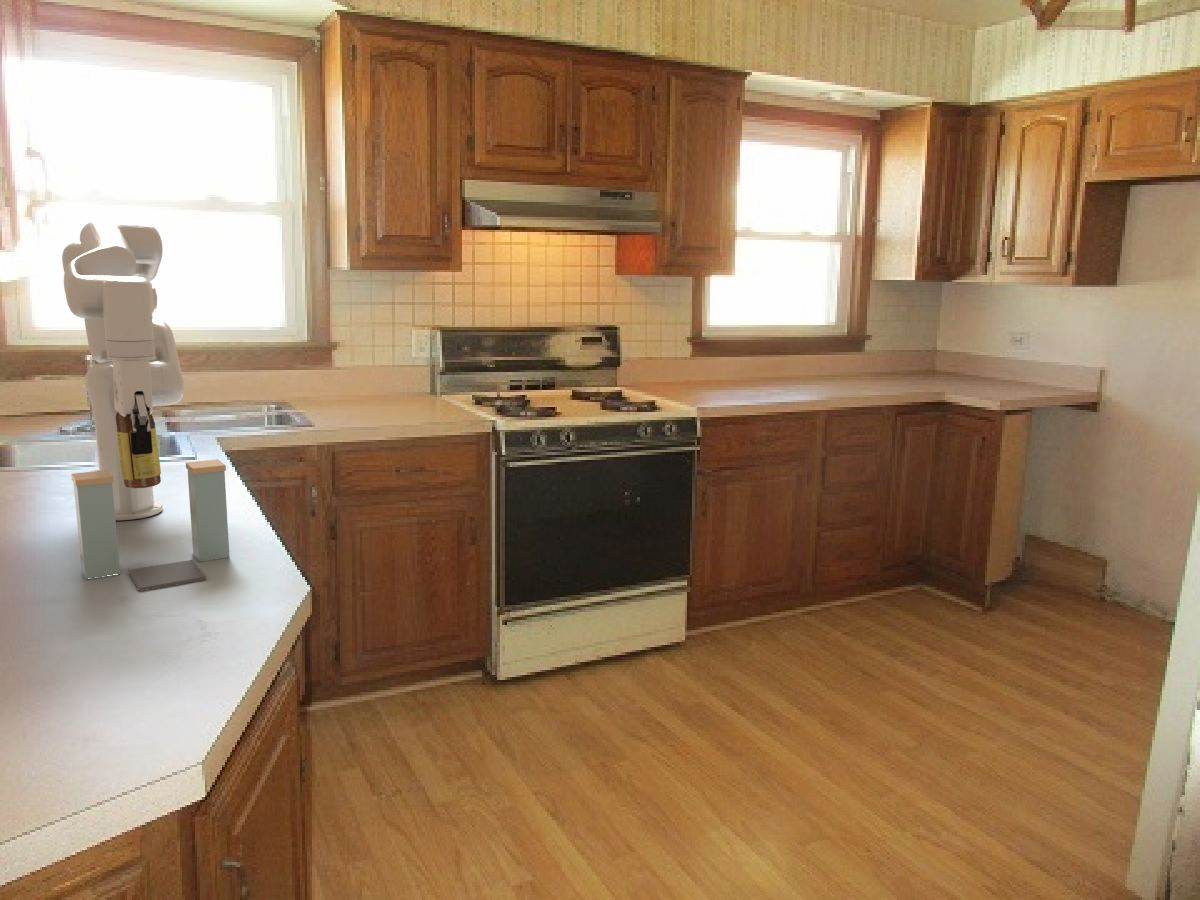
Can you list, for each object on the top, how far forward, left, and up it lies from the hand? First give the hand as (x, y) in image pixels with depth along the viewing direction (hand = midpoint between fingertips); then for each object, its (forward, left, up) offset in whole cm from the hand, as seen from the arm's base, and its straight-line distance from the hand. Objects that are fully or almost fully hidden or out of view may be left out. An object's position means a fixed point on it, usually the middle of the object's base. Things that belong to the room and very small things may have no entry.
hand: (138, 449), depth 158 cm
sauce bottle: (0, 0, -7) cm, 7 cm away
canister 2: (+11, +9, -18) cm, 23 cm away
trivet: (+18, 0, -18) cm, 26 cm away
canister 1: (+11, -9, -18) cm, 23 cm away
